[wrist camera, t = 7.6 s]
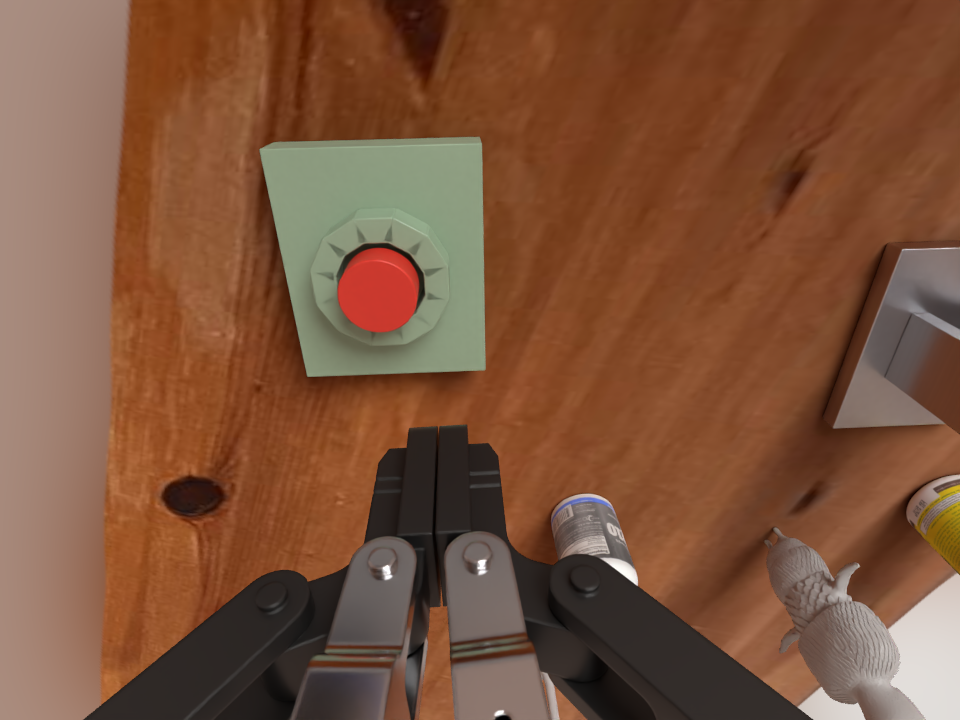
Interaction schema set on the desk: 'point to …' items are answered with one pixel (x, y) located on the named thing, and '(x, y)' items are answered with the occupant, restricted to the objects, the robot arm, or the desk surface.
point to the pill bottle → (591, 532)
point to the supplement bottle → (939, 517)
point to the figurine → (837, 632)
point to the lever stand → (905, 343)
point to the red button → (378, 290)
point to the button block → (382, 224)
